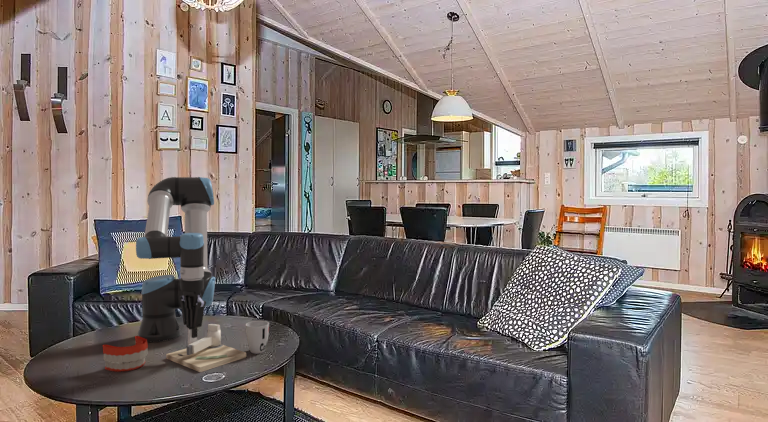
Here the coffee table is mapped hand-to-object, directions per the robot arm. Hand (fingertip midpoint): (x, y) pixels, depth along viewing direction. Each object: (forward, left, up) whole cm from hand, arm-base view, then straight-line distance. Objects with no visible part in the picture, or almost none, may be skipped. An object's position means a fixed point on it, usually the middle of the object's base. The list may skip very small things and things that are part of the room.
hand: (192, 346), depth 180 cm
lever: (+1, +4, -2) cm, 4 cm away
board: (+4, +3, -4) cm, 6 cm away
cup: (+12, +18, -4) cm, 22 cm away
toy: (-8, -18, -4) cm, 20 cm away
